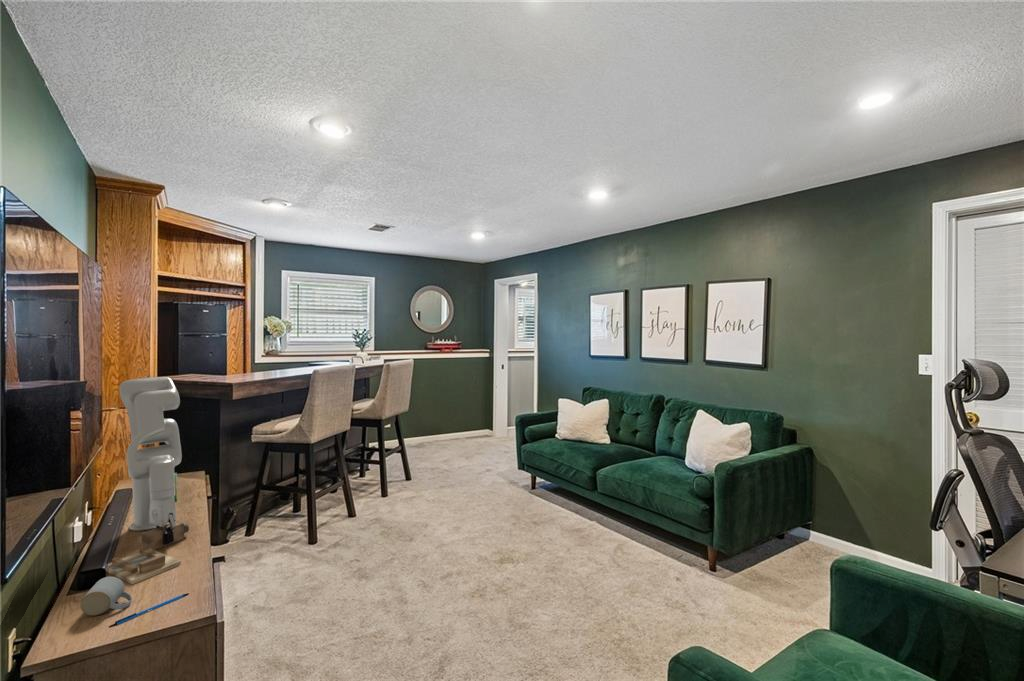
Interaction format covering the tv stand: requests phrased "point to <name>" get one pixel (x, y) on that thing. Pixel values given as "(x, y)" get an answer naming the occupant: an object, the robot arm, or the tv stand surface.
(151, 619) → the tv stand surface
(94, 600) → the ceramic mug
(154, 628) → the tv stand surface
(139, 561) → the jig
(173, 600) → the pen
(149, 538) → the brown wooden block
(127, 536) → the tv stand surface
